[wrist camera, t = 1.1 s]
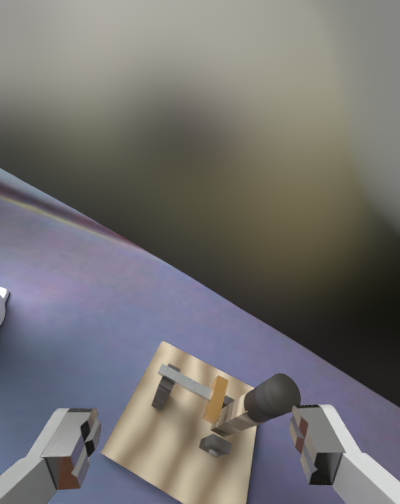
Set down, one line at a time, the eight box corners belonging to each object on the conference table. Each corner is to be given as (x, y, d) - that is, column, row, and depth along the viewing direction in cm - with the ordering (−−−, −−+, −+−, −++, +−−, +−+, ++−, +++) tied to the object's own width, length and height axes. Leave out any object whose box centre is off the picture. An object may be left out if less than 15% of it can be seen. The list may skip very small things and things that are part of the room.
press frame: (101, 453, 35) (90, 444, 24) (161, 344, 49) (171, 307, 38) (236, 536, 32) (293, 569, 21) (257, 394, 46) (297, 370, 36)
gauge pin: (149, 389, 29) (151, 384, 27) (166, 355, 33) (169, 349, 31) (213, 424, 28) (218, 421, 26) (223, 385, 32) (228, 380, 30)
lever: (207, 431, 35) (268, 401, 20) (213, 410, 37) (271, 367, 22) (225, 441, 35) (300, 418, 20) (229, 419, 37) (300, 382, 22)
